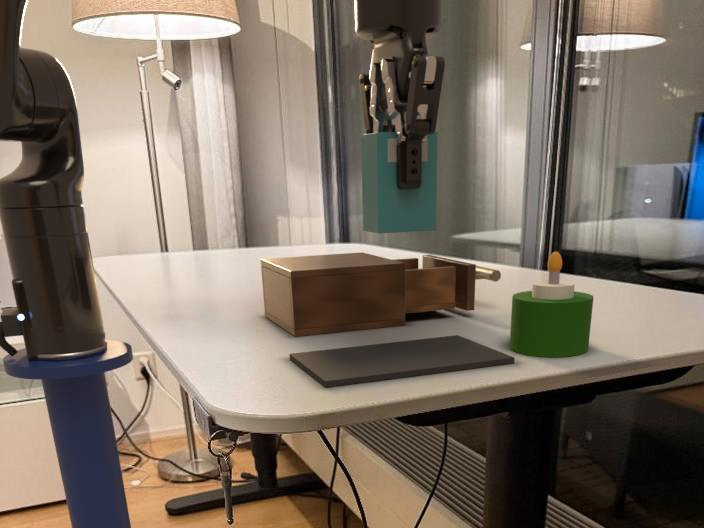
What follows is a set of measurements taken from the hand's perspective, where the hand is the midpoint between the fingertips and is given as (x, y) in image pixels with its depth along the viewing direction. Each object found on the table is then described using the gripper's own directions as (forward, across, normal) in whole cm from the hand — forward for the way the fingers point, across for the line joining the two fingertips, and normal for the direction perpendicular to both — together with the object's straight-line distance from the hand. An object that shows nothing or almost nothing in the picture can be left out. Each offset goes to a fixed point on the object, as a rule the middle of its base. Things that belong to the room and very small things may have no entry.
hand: (398, 187), depth 68 cm
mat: (+17, +1, 0) cm, 17 cm away
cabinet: (+17, -23, +1) cm, 29 cm away
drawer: (+16, -23, +14) cm, 32 cm away
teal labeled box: (+4, 0, 0) cm, 4 cm away
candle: (+17, +3, +16) cm, 24 cm away
